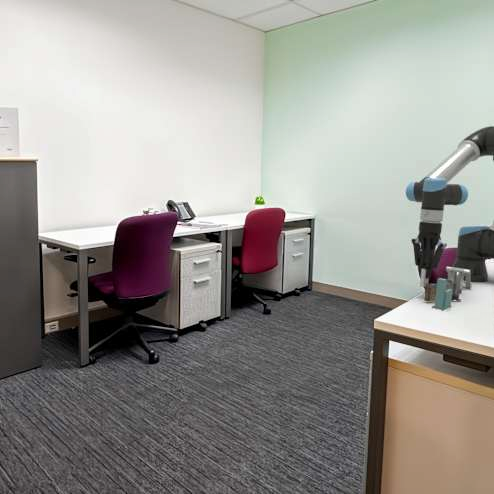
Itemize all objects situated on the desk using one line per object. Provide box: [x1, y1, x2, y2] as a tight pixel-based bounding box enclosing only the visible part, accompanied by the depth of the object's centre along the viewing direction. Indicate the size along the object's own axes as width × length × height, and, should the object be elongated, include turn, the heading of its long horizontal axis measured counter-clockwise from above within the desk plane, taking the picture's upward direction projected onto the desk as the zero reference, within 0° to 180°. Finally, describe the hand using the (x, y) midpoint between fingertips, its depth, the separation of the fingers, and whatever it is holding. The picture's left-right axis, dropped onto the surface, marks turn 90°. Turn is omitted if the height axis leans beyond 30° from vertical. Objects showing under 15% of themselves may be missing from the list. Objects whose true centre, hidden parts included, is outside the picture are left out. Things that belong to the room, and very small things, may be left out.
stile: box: [431, 277, 453, 311], centre depth 160 cm, size 6×4×10 cm, turn 137°
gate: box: [424, 282, 454, 302], centre depth 166 cm, size 11×2×6 cm, turn 111°
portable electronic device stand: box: [445, 266, 473, 289], centre depth 189 cm, size 9×8×8 cm
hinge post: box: [451, 271, 462, 303], centre depth 169 cm, size 4×4×10 cm
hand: (423, 286), depth 171 cm, fingers closed
